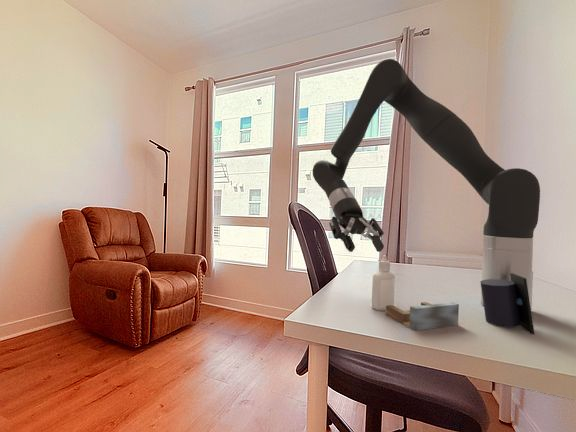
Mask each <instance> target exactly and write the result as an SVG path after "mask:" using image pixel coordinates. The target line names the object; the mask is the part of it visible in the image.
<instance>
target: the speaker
mask: <svg viewBox="0 0 576 432" xmlns="http://www.w3.org/2000/svg"><path fill="white" fill-rule="evenodd" d="M510 277H511V281H508V280H502V279H487V280H483V281H482V280H480V289H481V290H482V297H483V304H484V305H483V310H484V316H485V322H486V323H488V324H490V325H493V326H494V325H495V326H498V327H505V328H515V327H519V326H520V327H521V328H522V329H524V330H525V331H526V332H528V333H529V334H531V335H533V336H534V335H535V329H534V327H535V326H534V321H533V316H532V315H533V314H532V310H531V307H530V300H529V294H528V287H527V280H526V278H524V277H521V276H518V275H516V274H513V273H510ZM481 290H480V291H481Z"/></svg>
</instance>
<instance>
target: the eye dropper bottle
mask: <svg viewBox="0 0 576 432" xmlns="http://www.w3.org/2000/svg"><path fill="white" fill-rule="evenodd" d="M372 275H373V276H372V286H371V287H372V288H371V308H372V309H374V310H377V311H380V312H381V311H382V312H386V306H389V305H393V306H395V293H396V292H395V289H396V286H395V284H396V277H395V276H396V275H395V274H394V273H393V272H391V261H389V260H388V258H387V255H385V254H384V255H383V256H382V259H381V260H379V261H378V271H376V272H375V273H374V274H372Z"/></svg>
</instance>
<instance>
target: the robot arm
mask: <svg viewBox="0 0 576 432" xmlns="http://www.w3.org/2000/svg"><path fill="white" fill-rule="evenodd" d="M370 72H371V73H370V75H369V76H368V78H367V80H366V83H365V85H364V88H363V89H362V92H361V94H360V97H359V99H358V101H357V102H356V105H355V107H354V109H353V110H352V113H351V114H350V117H349V118H348V120H347V121H346V124H345V125H344V127H343V128H342V130H341V132H339V133H340V134H339V135H338V137H337V138H336V140H335V141H334V143H333V145H332V146H331V149H330V153H331V155H332V156H333V157H334V158H335V162H334V163H333V162H330V161H328V160H324V159H320V160H317V161H316V162H315V163H314V165H313V167H312V177H313V179H314V181H315V182H316V183H317V185H318V186H319V187H320V188H321V189H322V190H323V192H325V195H326V197H327V199H328V202H329V205H330V208H331V210H332V212H333V214H334V216H332V217H331V219H330V221H329V227H330V229H331V233H332V236H333V238H334V239H335V240H338V239H340V240H341V241H342V242H343V245H344V247H345V249H346V251H347V250H348V252H349V253H352V252H353V251H354V250H355V249H356V246H355V243H354V241H353V238H352V237H351V235H361V236H363V237H364V238H368V239H370V241H371V243H372V244H373V246H374V248H375V250H376V252H377V253H381V252H382V250H384V248H385V246H384V243H383V241H382V240H381V238H382V237H383V235H384V234H385V232H384V230H383V229H382V227H381V226H380V225H379V223H378V221H377V220H376V219H375V218H371V219H369V220H367V218H365V217H364V214H363V209H362V207H361V206H360V204H359V203H358V200H357V199H356V197H355V195H354V194H353V192H352V191H351V190H350V188H349V186H348V185H347V183H346V182H345V180H343V179H344V177H345V174H346V171H347V168H348V165H349V163H350V160H351V158H352V157H353V155H354V153H355V152H356V151H357V150H358V147H360V144H361V143H362V141H363V140H364V137H365V136H366V133H367V130H368V128H369V126H370V123H371V120H372V119H373V117H374V116H375V114H376V113H377V111H378V109H379V107H381V105H382V104H383V102H385V103H387V105H389V106H390V107H392V108H393V109H394V110H396V111H397V112H398V113H400V114H401V115H402V116H403V117H404V119H406V121H407V122H408V123H409V125H410V127H411V128H412V129H413V130H414V132H415V133H416V134H417V135H418V136H419V137H420V138H421V139H422V140H423V142H425V144H427V145H428V146H429V147H430V148H431V149H432V150H433V151H434V152H435V153H436V154H438V155H439V156H440V157H441V158H442V159H443V160H444V161H446V163H448V164H449V165H450V166H451V167H453V168H454V169H455V170H456V171H457V172H458V173H459V174H461V176H463V178H464V179H465V180H466V181H467V182H468V183H469V185H470V186H471V187H472V188H473V189H474V190H475V191H476V193H477V194H478V195H479V197H481V200H482V201H484V202H485V203H486V204H487V205H488V215H487V220H486V221H485V223H484V225H483V235H482V236H483V237H482V263H481V281H483V280H487V279H502V280H508V281H511V277H510V273H513V274H516V275H518V276H521V277H524V278H526V280H527V287H528V294H529V300H530V307H531V311H532V310H533V309H532V308H533V307H532V306H533V282H534V271H533V259H534V258H533V253H534V252H533V249H534V232H535V230H536V227H537V225H538V224H539V223H538V221H539V214H540V213H539V212H540V202H541V187H540V186H541V185H540V182H539V179H538V178H537V176H536V175H535V174H534V173H533V172H531V171H530V170H527V169H524V168H518V167H516V168H515V167H514V168H508V169H504V168H503V167H501V165H499V164H498V163H496V161H494V160H493V159H492V158H491V157H490V156H489V155H488V154H487V153H486V152H485V150H484V149H483V148H482V146H481V144H480V142H479V140H478V139H477V136H476V135H475V133H474V132H473V131H472V129H471V128H470V126H468V124H467V123H466V122H464V120H462V119H461V118H460V117H459V116H458V115H457V114H456V113H455V112H453V111H452V110H451V109H449V108H447V106H445V105H444V104H442V103H440V102H439V101H436V100H435V99H433V98H431V97H429V96H428V95H426V94H425V93H424V92H423V91H422V90H421V89H420V88H418V86H417V85H416V84H415V83H414V82H413V81H412V80H411V78H410V77H409V76H408V74H407V73H406V71H405V69H404V67H403V65H401V63H400V62H399V61H397V60H395V59H394V58H393V59H392V58H386V59H383V60H381V61H380V62H378V63H377V64H376V65H375V66H374V67H373V69H372V70H371V71H370ZM341 228H342V229H343V231H342V229H341ZM366 229H367V231H366V232H365V230H366ZM349 234H351V235H349ZM480 291H481V292H480V293H481V294H480V304H481V305H482V306H484V304H483V297H482V290H480Z"/></svg>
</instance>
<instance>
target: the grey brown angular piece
mask: <svg viewBox="0 0 576 432" xmlns="http://www.w3.org/2000/svg"><path fill="white" fill-rule="evenodd" d="M459 306H460V304H459V303H457V302H443V303H434V304H433V303H429V302H427V301H425V302H424V301H423V302H420V305H415V306H410V307H409V310H403V309H401V308H399V307H396V306H395V305H394V306H393V305H389V306H386V310H385V316H386V317H388V318H390V319H392V320H394V321H395V322H398V323H400V324H401V325H403V326H405V327H406V328H409V329H411V330H412V331H421V330H429V329H430V330H431V329H435V328H443V327H444V328H445V327H450V326H458V325H459V312H460V311H459V309H460V307H459Z"/></svg>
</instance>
